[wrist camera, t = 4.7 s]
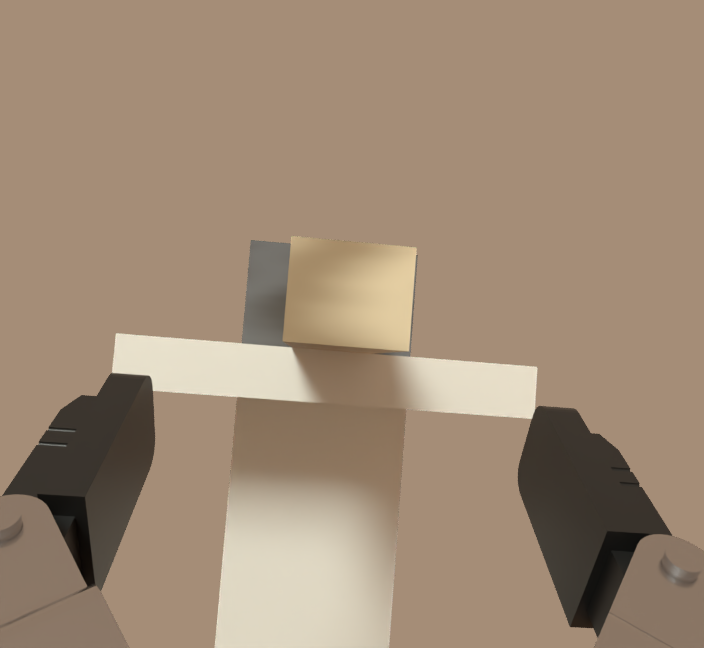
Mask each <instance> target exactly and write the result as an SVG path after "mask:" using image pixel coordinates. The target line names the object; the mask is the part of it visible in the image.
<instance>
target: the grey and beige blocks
mask: <svg viewBox="0 0 704 648" xmlns="http://www.w3.org/2000/svg"><path fill="white" fill-rule="evenodd" d="M416 249H417V248H416V247H405V246H395V245H383V244H372V243H362V242H351V241H340V240H329V239H317V238H307V237H296V236H292V237H291V244H288V243H276V242H266V241H255V240H251V246H250V257H249V268H248V281H247V291H246V302H245V313H244V324H243V336H242V344H255V345H267V346H280V347H292V348H305V349H318V350H330V351H343V352H355V353H368V354H380V355H393V356H406V357H410V352H411V337H412V324H413V309H414V297H415V282H416V268H417V255H416Z"/></svg>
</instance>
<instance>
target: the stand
mask: <svg viewBox="0 0 704 648" xmlns="http://www.w3.org/2000/svg"><path fill="white" fill-rule="evenodd" d="M112 373H121V374H135V375H148V376H150V377H151V379H152V386H153V391H164V392H178V393H191V394H205V395H218V396H232V397H237V404H236V415H235V426H234V437H233V448H232V460H231V471H230V482H229V493H228V505H227V517H226V527H225V539H224V550H223V561H222V572H221V584H220V596H219V606H218V618H217V629H216V640H215V648H389V639H390V626H391V612H392V598H393V584H394V570H395V556H396V544H397V530H398V516H399V501H400V488H401V474H402V461H403V448H404V433H405V420H406V409H408V410H421V411H422V410H423V411H436V412H449V413H462V414H476V415H490V416H504V417H516V418H517V417H518V418H530V419H532V417H533V414H534V412H535V397H536V380H537V367H531V366H519V365H506V364H494V363H493V364H492V363H481V362H468V361H456V360H443V359H430V358H418V357H406V356H393V355H380V354H368V353H355V352H343V351H330V350H318V349H305V348H292V347H280V346H267V345H255V344H242V343H230V342H217V341H204V340H191V339H179V338H166V337H154V336H141V335H129V334H116V340H115V350H114V360H113V369H112Z"/></svg>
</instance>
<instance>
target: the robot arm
mask: <svg viewBox="0 0 704 648" xmlns="http://www.w3.org/2000/svg"><path fill="white" fill-rule="evenodd" d="M154 447H155V427H154V406H153V386H152V379H151V377H150V376H148V375H135V374H121V373H111V374H110V375H109V377H108V378H107V380H106V382H105V383H104V385H103V386H102V388H101V390H100V392H99V393H98V395H97V396H85V395H81V396H80V397H78V398H77V399H75V400H74V401H72V402H71V403H70V404H68V405H67V406H65V407H64V408H63V409H61V410H60V411H59V413H58V414H57V416H56V417H55V419H54V420H53V422H52V423H51V425H50V426H49V430H48V431H46V432H45V434H44V435H43V436H42V438H41V439H40V441H39V445H36V447H35V448H34V450H33V451H32V453H31V454H30V456H29V457H28V458H27V460H26V461H25V463H24V464H23V466H22V467H21V469H20V470H19V472H18V473H17V475H16V476H15V478H14V479H13V481H12V482H11V484H10V485H9V487H8V488H7V489H6V491H5V493H4V494H3V495H2V496H0V648H129V646H128V644H127V642H126V640H125V638H124V636H123V634H122V633H121V630H120V629H119V627H118V624H117V622H116V620H115V619H114V617H113V615H112V613H111V611H110V609H109V607H108V605H107V603H106V601H105V599H104V597H103V595H102V593H101V590H102V587H103V585H104V582H105V580H106V577H107V575H108V572H109V570H110V567H111V565H112V562H113V560H114V557H115V555H116V552H117V550H118V547H119V545H120V542H121V540H122V537H123V535H124V532H125V530H126V527H127V525H128V522H129V520H130V517H131V515H132V512H133V509H134V507H135V505H136V502H137V500H138V497H139V495H140V492H141V490H142V487H143V485H144V482H145V480H146V477H147V475H148V472H149V470H150V467H151V464H152V460H153V455H154ZM518 485H519V491H520V494H521V497H522V500H523V503H524V505H525V508H526V510H527V513H528V516H529V519H530V521H531V524H532V527H533V529H534V532H535V534H536V537H537V540H538V543H539V545H540V548H541V551H542V553H543V556H544V559H545V561H546V564H547V567H548V569H549V572H550V575H551V577H552V580H553V583H554V585H555V588H556V591H557V593H558V596H559V599H560V601H561V604H562V607H563V609H564V612H565V615H566V617H567V620H568V623H569V625H570V627H581V628H594V630H595V633H596V635H597V637H598V639H597V642H596V644H595V646H594V648H704V551H703V550H701V549H700V548H698V547H697V546H695V545H693V544H691V543H690V542H687V541H685V540H683V539H680V538H677V537H674V536H672V534H671V533H670V531H669V529H668V528H667V526H666V525H665V523H664V522H663V520H662V518H661V517H660V515H659V514H658V512H657V510H656V509H655V507H654V506H653V504H652V502H651V501H650V499H649V498H648V496H647V495H646V493H645V491H644V490H643V488H642V487H639V482H638V480H637V479H636V477H635V476H634V474H633V473H632V472H630V468H629V466H628V465H627V463H626V461H625V460H624V458H623V456H622V455H621V453H620V452H619V450H618V449H616V448H615V447H614V446H613V445H612V444H610V443H609V442H608V441H607V440H606V439H605V438H603V437H602V436H601V435H600V434H592V433H590V431H589V430H588V428H587V426H586V425H585V423H584V421H583V419H582V418H581V416H580V414H579V413H578V411H577V410H576V409H572V408H560V407H546V406H539V407H537V409H536V410H535V412H534V414H533V417H532V421H531V424H530V428H529V431H528V435H527V438H526V442H525V445H524V449H523V452H522V456H521V459H520V463H519V468H518Z"/></svg>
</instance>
